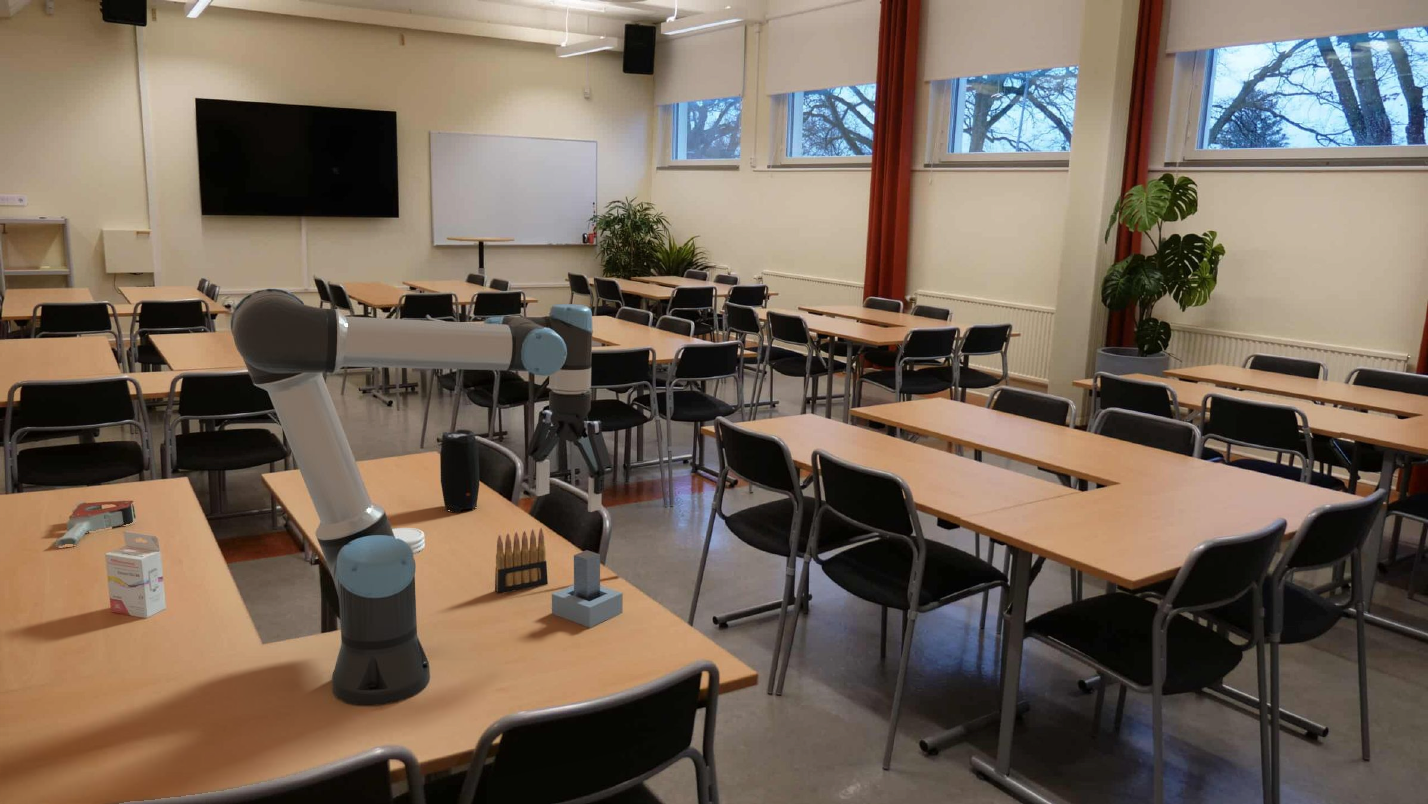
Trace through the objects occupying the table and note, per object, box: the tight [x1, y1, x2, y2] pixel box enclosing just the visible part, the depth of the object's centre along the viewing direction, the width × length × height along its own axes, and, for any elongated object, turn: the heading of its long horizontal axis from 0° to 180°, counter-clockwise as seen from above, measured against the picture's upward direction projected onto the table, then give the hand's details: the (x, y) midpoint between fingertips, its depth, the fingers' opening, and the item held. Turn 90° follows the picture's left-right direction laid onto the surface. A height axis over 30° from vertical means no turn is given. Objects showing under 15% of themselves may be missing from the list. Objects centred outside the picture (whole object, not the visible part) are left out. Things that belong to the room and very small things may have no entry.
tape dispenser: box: [54, 500, 137, 548], centre depth 231 cm, size 18×5×20 cm
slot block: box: [551, 584, 624, 629], centre depth 192 cm, size 9×10×4 cm
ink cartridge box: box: [104, 530, 167, 619], centre depth 187 cm, size 9×5×15 cm, turn 74°
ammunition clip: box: [494, 527, 549, 594], centre depth 203 cm, size 11×2×12 cm, turn 122°
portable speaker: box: [439, 429, 480, 513], centre depth 251 cm, size 9×9×20 cm
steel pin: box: [573, 549, 601, 601], centre depth 191 cm, size 4×4×11 cm
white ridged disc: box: [391, 527, 426, 555], centre depth 224 cm, size 10×10×4 cm
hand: (568, 502), depth 187 cm, fingers open, 13 cm apart
